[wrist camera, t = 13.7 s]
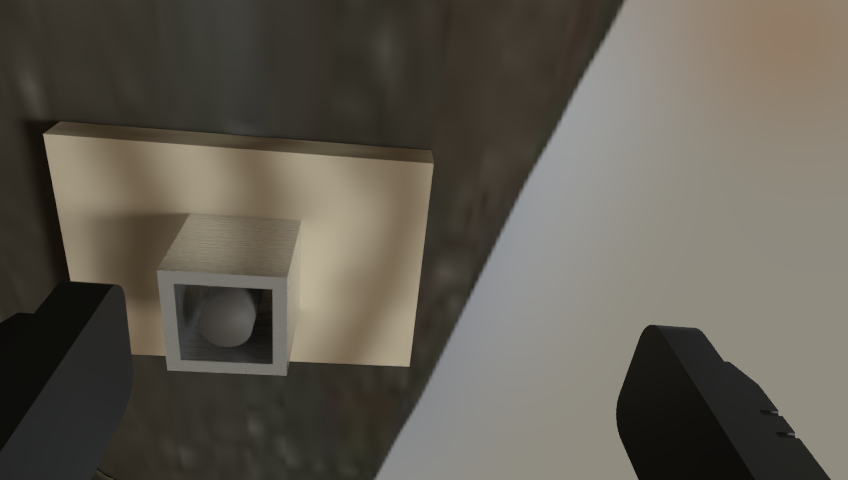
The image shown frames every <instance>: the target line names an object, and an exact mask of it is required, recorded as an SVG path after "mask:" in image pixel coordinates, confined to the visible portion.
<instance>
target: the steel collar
mask: <svg viewBox="0 0 848 480" xmlns="http://www.w3.org/2000/svg"><path fill="white" fill-rule="evenodd" d="M300 265H301V221H300V220H285V219H271V218H256V217H242V216H227V215H212V214H198V213H190V215H189V216H188V218H187V220H186V221H185V223H184V225H183V227H182V228H181V230H180V232H179V233H178V235H177V237H176V238H175V240H174V242H173V244H172V245H171V247H170V249H169V250H168V252H167V254H166V255H165V257H164V259H163V260H162V262H161V264H160V266H159V267H158V269H157V277H158V286H159V296H160V305H161V314H162V324H163V333H164V343H165V352H166V361H167V370H172V371H195V372H217V373H240V374H262V375H285V376H287V371H288V366H289V361H290V356H291V351H292V346H293V341H294V336H295V331H296V326H297V320H298V315H299V310H300ZM208 286H222V287H240V288H257V289H272V298H264V297H262V299H261V302H260V305H259V309H258V312H257V316H256V319H255V322H254V326H253V329H252V333H251V335H250V337H249V338H248V340H247V341H245V342H244V343H243V344H241V345H238V346H235V347H221V346H217V345H215V344H212V343H211V342H209V341H208V340H206V339H205V338H204V337H203V336H202V334H201V332H200V330H199V327H198V320H199V317H200V315H201V312H202V310H203V308H204V305H205V303H206V301H207V298H208V296H209V291H208Z"/></svg>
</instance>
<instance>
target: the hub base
mask: <svg viewBox="0 0 848 480" xmlns="http://www.w3.org/2000/svg"><path fill="white" fill-rule="evenodd" d="M43 136H44V141H45V147H46V152H47V158H48V163H49V168H50V174H51V179H52V184H53V190H54V195H55V200H56V206H57V211H58V216H59V222H60V227H61V232H62V238H63V243H64V248H65V254H66V259H67V265H68V270H69V275H70V281H76V282H90V283H104V284H117V285H120V286H121V287H122V289H123V291H124V294H125V300H126V309H127V318H128V327H129V336H130V346H131V354H139V355H161V356H166V352H165V343H164V333H163V324H162V314H161V305H160V296H159V286H158V277H157V269H158V267H159V266H160V264H161V262H162V260H163V259H164V257H165V255H166V254H167V252H168V250H169V249H170V247H171V245H172V244H173V242H174V240H175V238H176V237H177V235H178V233H179V232H180V230H181V228H182V227H183V225H184V223H185V221H186V220H187V218H188V216H189V215H190V213H198V214H212V215H227V216H242V217H256V218H271V219H285V220H300V221H301V265H300V310H299V315H298V320H297V326H296V331H295V336H294V341H293V346H292V351H291V356H290V361H296V362H319V363H341V364H364V365H386V366H410V357H411V349H412V340H413V332H414V324H415V315H416V307H417V298H418V290H419V281H420V273H421V265H422V256H423V248H424V239H425V231H426V223H427V214H428V206H429V197H430V189H431V180H432V172H433V158H432V153H431V150H420V149H408V148H395V147H382V146H369V145H356V144H344V143H331V142H318V141H305V140H293V139H280V138H267V137H254V136H242V135H229V134H216V133H203V132H190V131H178V130H165V129H152V128H139V127H127V126H114V125H101V124H88V123H76V122H63V121H60V122H59V123H57V124H56V125H55V126H53V127H52V128H50V129H49V130H48V131H46V132H45V133H44V134H43ZM208 291H209V296H208V298H207V301H206V303H205V305H204V308H203V310H202V312H201V315H200V317H199V320H198V327H199V330H200V332H201V334H202V336H203V337H204V338H205V339H206V340H208V341H209V342H211V343H212V344H215V345H217V346H221V347H235V346H238V345H241V344H243V343H244V342H245V341H247V340H248V338H249V337H250V335H251V333H252V329H253V326H254V322H255V319H256V316H257V312H258V309H259V305H260V302H261V299H262V297H264V298H272V289H257V288H240V287H222V286H208Z"/></svg>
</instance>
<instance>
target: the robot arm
mask: <svg viewBox="0 0 848 480" xmlns="http://www.w3.org/2000/svg"><path fill="white" fill-rule="evenodd" d="M132 380H133V364H132V355H131V346H130V336H129V327H128V318H127V309H126V300H125V294H124V291H123V289H122V287H121V286H120V285H117V284H104V283H90V282H76V281H62V282H60V283H59V284H58V285H57V286H56V287H55V288H54V290H53V291H52V292H51V293H50V295H49V296H48V297H47V298H46V300H45V301H44V302H43V303H42V304H41V306H40V307H39V308H38V309H37V311H36V312H35V313H34V314H31V313H16V314H15V315H13V316H11V317H10V318H8V319H6V320H5V321H3V322H1V323H0V480H91V479H92V477H93V475H94V473H95V471H96V469H97V467H98V465H99V463H100V461H101V459H102V456H103V454H104V452H105V450H106V448H107V446H108V444H109V442H110V440H111V438H112V436H113V434H114V432H115V430H116V428H117V426H118V424H119V422H120V420H121V418H122V416H123V413H124V411H125V409H126V407H127V404H128V401H129V397H130V393H131V387H132ZM616 420H617V427H618V432H619V435H620V438H621V440H622V443H623V445H624V447H625V450H626V452H627V454H628V457H629V459H630V461H631V463H632V466H633V468H634V470H635V473H636V475H637V477H638V479H639V480H831V479H830V478H829V477H828V475H827V474H826V473H825V472H824V470H823V469H822V468H821V466H820V465H819V464H818V462H817V461H816V460H815V458H814V457H813V456H812V454H811V453H810V452H809V450H808V449H807V448H806V447H805V445H804V444H803V443H802V441H801V440H800V439H799V438H795V432H794V431H793V429H792V428H791V427H790V426H789V424H788V423H787V422H786V420H785V419H784V418H783V416H778V410H777V409H776V407H775V406H774V404H773V403H772V402H771V401H770V399H769V398H768V397H767V395H766V394H765V393H764V391H763V390H762V389H761V388H760V386H759V385H758V384H757V383H755V382H754V381H753V380H752V379H750V378H749V377H748V376H747V375H745V374H744V373H743V372H742V371H740V370H739V369H738V368H737V367H735V366H734V365H733V364H731V363H730V362H724V361H723V359H722V358H721V357H720V355H719V354H718V353H717V351H716V350H715V348H714V347H713V346H712V344H711V343H710V342H709V340H708V339H707V337H706V336H705V335H704V334H703V332H702V331H700V330H699V329H697V328H687V327H673V326H660V325H649V326H647V327H646V328H645V329H644V330H643V332H642V334H641V336H640V339H639V341H638V344H637V347H636V350H635V352H634V355H633V358H632V361H631V364H630V366H629V369H628V372H627V375H626V378H625V380H624V383H623V386H622V389H621V391H620V395H619V398H618V402H617V409H616Z"/></svg>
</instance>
